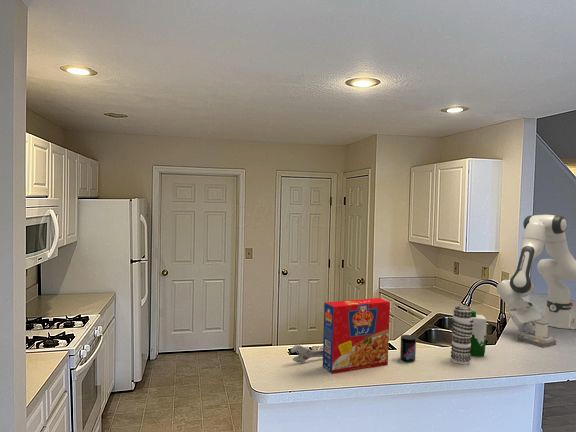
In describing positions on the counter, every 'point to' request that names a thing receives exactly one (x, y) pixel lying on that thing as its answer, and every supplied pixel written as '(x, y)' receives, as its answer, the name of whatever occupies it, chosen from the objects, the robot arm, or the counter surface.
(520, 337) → the switch panel
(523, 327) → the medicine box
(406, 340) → the supplement container
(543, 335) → the switch tab
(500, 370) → the counter surface
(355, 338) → the pasta box
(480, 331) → the milk carton
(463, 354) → the leaning tower model
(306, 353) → the wrench
